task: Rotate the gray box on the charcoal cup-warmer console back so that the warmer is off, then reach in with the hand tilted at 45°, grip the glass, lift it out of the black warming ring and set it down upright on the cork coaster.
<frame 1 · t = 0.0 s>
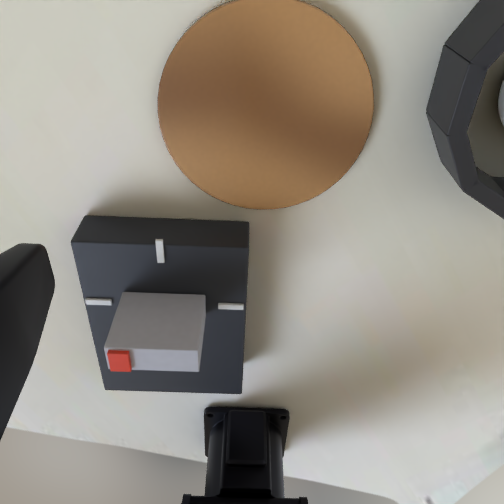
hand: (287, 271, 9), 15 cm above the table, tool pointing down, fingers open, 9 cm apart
gray box: (158, 331, 24), point 5 cm above the table, hinge at 90.0°
warmer console: (173, 299, 29), on the table
coaster: (265, 114, 22), on the table
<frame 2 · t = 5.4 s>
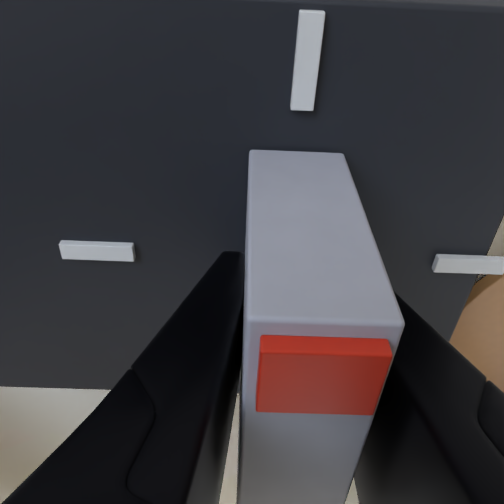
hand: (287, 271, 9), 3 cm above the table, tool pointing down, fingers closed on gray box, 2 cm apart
gray box: (292, 337, 7), point 5 cm above the table, hinge at 90.0°, touching gripper
warmer console: (196, 189, 11), on the table
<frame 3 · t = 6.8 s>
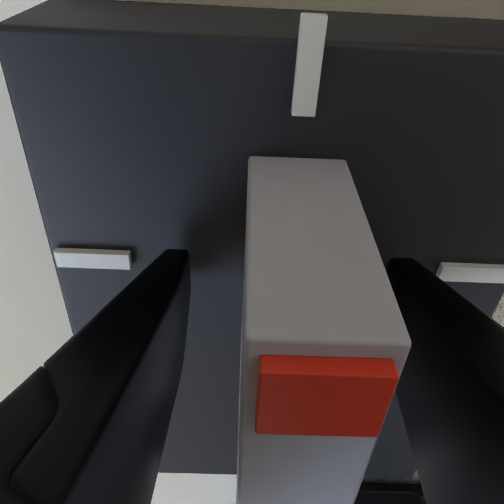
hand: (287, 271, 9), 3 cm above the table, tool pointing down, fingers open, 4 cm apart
gray box: (293, 349, 7), point 5 cm above the table, hinge at 0.2°
warmer console: (273, 264, 12), on the table
when the fingers open (8 cm above the table, at t = 19.0 s): drinking glass stays where it is, resting on coaster.
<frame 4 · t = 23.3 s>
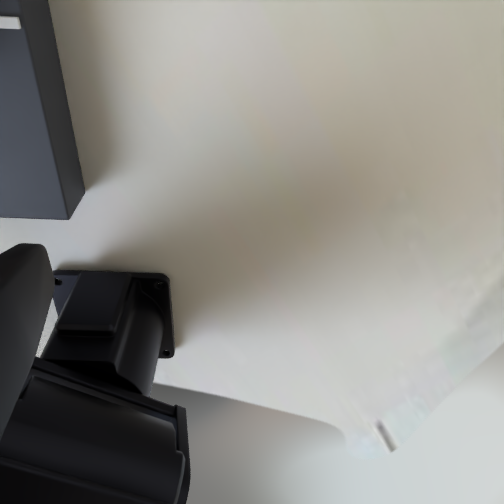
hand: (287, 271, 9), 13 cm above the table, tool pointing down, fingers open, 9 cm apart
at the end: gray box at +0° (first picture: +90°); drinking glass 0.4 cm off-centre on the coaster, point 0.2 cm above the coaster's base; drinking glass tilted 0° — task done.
